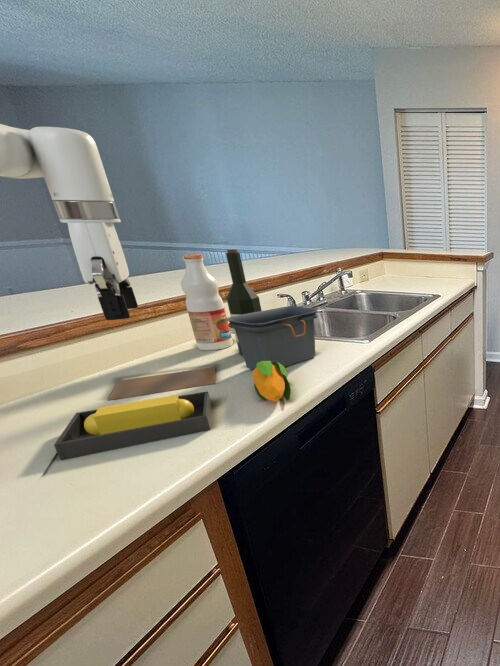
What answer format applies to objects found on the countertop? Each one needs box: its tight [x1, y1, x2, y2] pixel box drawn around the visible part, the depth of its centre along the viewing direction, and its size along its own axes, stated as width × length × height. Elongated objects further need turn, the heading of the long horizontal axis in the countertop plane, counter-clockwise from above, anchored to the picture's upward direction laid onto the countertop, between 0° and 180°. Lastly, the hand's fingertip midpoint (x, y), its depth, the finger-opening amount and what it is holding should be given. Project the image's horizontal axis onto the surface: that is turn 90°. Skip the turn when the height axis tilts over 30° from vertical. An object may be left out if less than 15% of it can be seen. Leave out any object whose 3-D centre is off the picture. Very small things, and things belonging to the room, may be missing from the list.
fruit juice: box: [180, 253, 234, 351], centre depth 128 cm, size 9×9×28 cm
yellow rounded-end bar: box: [84, 394, 194, 436], centre depth 82 cm, size 16×4×5 cm, turn 123°
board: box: [107, 366, 216, 402], centre depth 105 cm, size 20×14×1 cm
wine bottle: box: [225, 248, 263, 357], centre depth 123 cm, size 8×8×30 cm
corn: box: [252, 361, 292, 403], centre depth 98 cm, size 7×8×20 cm
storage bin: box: [226, 305, 319, 371], centre depth 117 cm, size 21×16×14 cm
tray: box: [53, 390, 212, 461], centre depth 82 cm, size 21×14×4 cm
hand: (123, 313), depth 77 cm, fingers open, 9 cm apart
